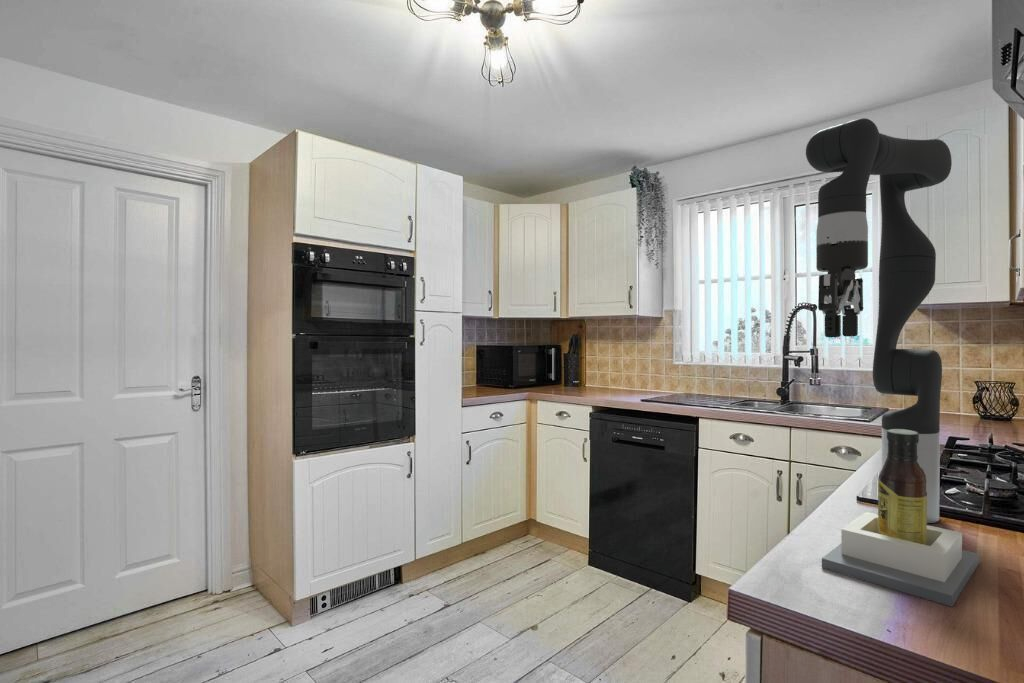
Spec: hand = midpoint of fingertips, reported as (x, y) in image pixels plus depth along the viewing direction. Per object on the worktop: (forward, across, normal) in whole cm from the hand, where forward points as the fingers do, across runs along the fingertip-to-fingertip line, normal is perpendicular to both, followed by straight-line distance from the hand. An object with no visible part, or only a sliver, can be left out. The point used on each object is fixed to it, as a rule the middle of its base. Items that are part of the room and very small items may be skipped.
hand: (841, 336), depth 92 cm
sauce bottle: (+35, +2, +9) cm, 36 cm away
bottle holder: (+36, +2, +9) cm, 37 cm away
